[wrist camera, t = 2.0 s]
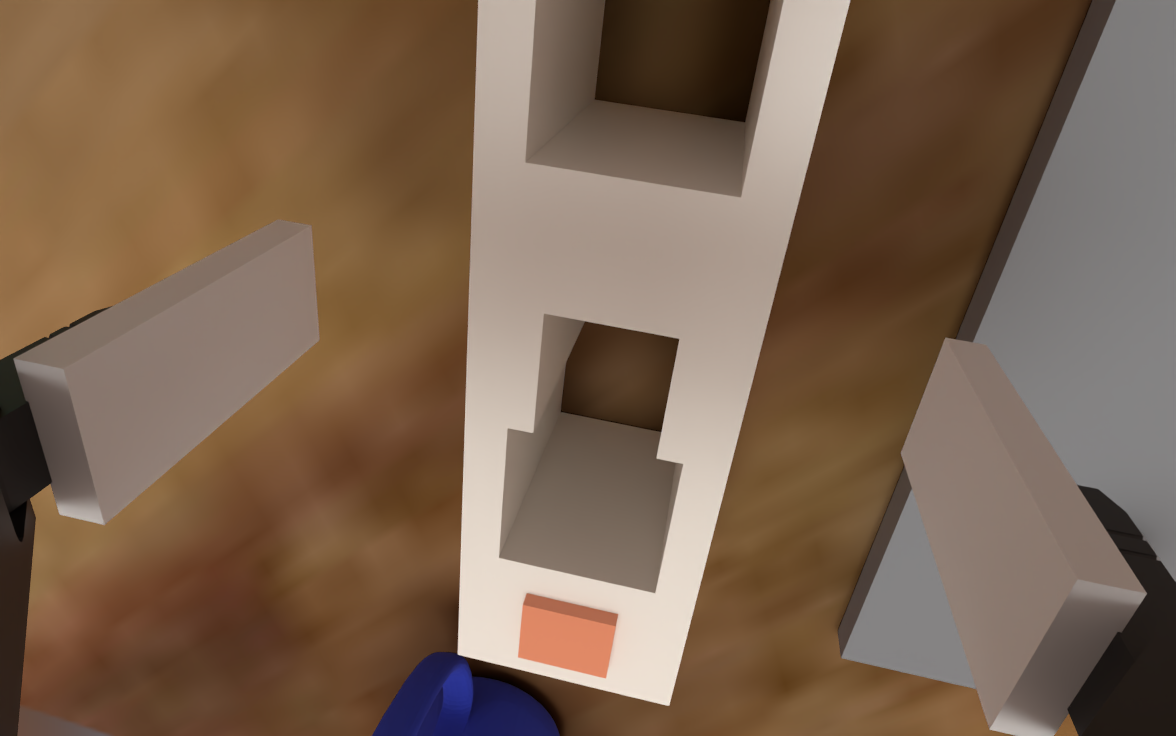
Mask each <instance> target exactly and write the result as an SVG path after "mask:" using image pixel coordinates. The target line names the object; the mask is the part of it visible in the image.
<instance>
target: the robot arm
mask: <svg viewBox="0 0 1176 736" xmlns="http://www.w3.org/2000/svg"><path fill="white" fill-rule="evenodd" d="M318 341H319V326H318V312H317V297H316V283H315V269H314V255H313V240H312V226H311V225H306V224H301V223H295V222H289V221H284V220H276V221H274V222H272V223H270V224H268V225H266V226H265V227H263V228H261V229H259V230H257V231H255V232H253V233H251V234H249V235H247V236H246V237H244V238H242V239H240V240H238V241H236V242H234V243H232V244H230V245H228V246H227V247H225V248H223V249H221V250H219V251H217V252H215V253H213V254H211V255H209V256H207V257H206V258H204V259H202V260H200V261H198V262H196V263H194V264H192V265H190V266H188V267H187V268H185V269H183V270H181V271H179V272H177V273H175V274H173V275H171V276H169V277H168V278H166V279H164V280H162V281H160V282H158V283H156V284H154V285H152V286H150V287H148V288H147V289H145V290H143V291H141V292H139V293H137V294H135V295H133V296H131V297H129V298H128V299H126V300H124V301H122V302H120V303H118V304H116V305H114V306H111V307H108V308H104V309H101V310H97V311H94V312H92V313H90V314H88V315H86V316H84V317H82V318H80V319H79V320H77V321H75V322H73V323H71V324H70V326H69V327H63V328H61V329H59V330H57V331H55V332H53V333H52V334H50V336H49V338H47V337H44V338H42V339H40V340H38V341H36V342H34V343H32V344H30V345H28V346H26V347H24V348H23V349H21V350H19V351H17V352H15V353H13V354H11V355H9V356H7V357H5V358H3V359H1V360H0V736H17V732H18V721H19V709H20V697H21V685H22V674H23V662H24V650H25V638H26V626H27V615H28V603H29V591H30V579H31V568H32V556H33V544H34V532H35V520H36V517H35V514H34V511H33V508H32V505H31V501H30V498H31V497H33V496H34V495H35V494H37V493H38V492H39V491H41V490H42V489H44V488H45V487H46V486H48V485H49V484H51V487H52V491H53V494H54V497H55V501H56V504H57V508H58V511H59V514H60V515H64V516H68V517H72V518H77V519H81V520H85V521H90V522H94V523H98V524H103V525H105V524H106V523H107V522H108V521H110V520H111V519H112V518H113V517H114V516H115V515H117V514H118V513H119V512H120V511H121V510H122V509H124V508H125V507H126V506H127V505H128V504H129V503H131V502H132V501H133V500H134V499H135V498H136V497H138V496H139V495H140V494H141V493H142V492H143V491H145V490H146V489H147V488H148V487H149V486H150V485H151V484H153V483H154V482H155V481H156V480H157V479H158V478H160V477H161V476H162V475H163V474H164V473H165V472H167V471H168V470H169V469H170V468H171V467H172V466H174V465H175V464H176V463H177V462H178V461H179V460H181V459H182V458H183V457H184V456H185V455H186V454H188V453H189V452H190V451H191V450H192V449H193V448H195V447H196V446H197V445H198V444H199V443H200V442H202V441H203V440H204V439H205V438H206V437H207V436H209V435H210V434H211V433H212V432H213V431H214V430H216V429H217V428H218V427H219V426H220V425H221V424H222V423H224V422H225V421H226V420H227V419H228V418H229V417H231V416H232V415H233V414H234V413H235V412H236V411H238V410H239V409H240V408H241V407H242V406H243V405H245V404H246V403H247V402H248V401H249V400H250V399H252V398H253V397H254V396H255V395H256V394H257V393H259V392H260V391H261V390H262V389H263V388H264V387H266V386H267V385H268V384H269V383H270V382H271V381H273V380H274V379H275V378H276V377H277V376H278V375H280V374H281V373H282V372H283V371H284V370H285V369H287V368H288V367H289V366H290V365H291V364H292V363H293V362H295V361H296V360H297V359H298V358H299V357H300V356H302V355H303V354H304V353H305V352H306V351H307V350H309V349H310V348H311V347H312V346H313V345H314V344H316V343H317V342H318ZM901 456H902V459H903V462H904V465H905V468H906V471H907V474H908V478H909V481H910V484H911V487H912V490H913V493H914V496H915V499H916V502H917V506H918V509H919V512H920V515H921V518H922V521H923V524H924V527H925V530H926V534H927V537H928V540H929V543H930V546H931V549H932V552H933V555H934V558H935V562H936V565H937V568H938V571H939V574H940V577H941V580H942V583H943V586H944V590H945V593H946V596H947V599H948V602H949V605H950V608H951V611H952V614H953V618H954V621H955V624H956V627H957V630H958V633H959V636H960V639H961V642H962V646H963V649H964V652H965V655H966V658H967V661H968V664H969V667H970V670H971V674H972V677H973V680H974V683H975V686H976V689H977V692H978V695H979V698H980V702H981V705H982V708H983V711H984V714H985V717H986V720H987V723H988V726H989V729H990V730H994V731H999V732H1003V733H1007V734H1011V735H1016V736H1054V735H1055V733H1056V732H1057V730H1058V729H1059V727H1060V726H1061V724H1062V723H1063V721H1064V719H1065V718H1066V716H1067V715H1068V713H1069V714H1070V717H1071V719H1072V721H1073V724H1074V726H1075V728H1076V731H1077V733H1078V735H1079V736H1176V582H1175V580H1174V579H1173V578H1172V576H1171V575H1170V573H1169V572H1168V570H1167V569H1166V568H1165V566H1164V565H1163V563H1162V562H1161V561H1158V560H1157V555H1156V553H1155V552H1154V551H1153V549H1152V548H1151V546H1150V545H1149V543H1148V542H1147V541H1145V540H1143V535H1142V534H1141V532H1140V531H1139V529H1138V528H1137V526H1136V525H1135V524H1134V522H1133V521H1132V519H1131V518H1130V517H1129V515H1128V514H1127V512H1126V511H1124V510H1123V509H1122V508H1121V507H1119V506H1118V505H1117V504H1116V503H1115V502H1113V501H1112V500H1111V499H1110V498H1109V497H1107V496H1106V495H1105V494H1104V493H1102V492H1101V491H1100V490H1099V489H1096V488H1091V487H1086V486H1080V485H1077V484H1076V483H1075V481H1074V480H1073V478H1072V477H1071V475H1070V474H1069V472H1068V471H1067V469H1066V467H1065V466H1064V464H1063V463H1062V461H1061V460H1060V458H1059V457H1058V455H1057V453H1056V452H1055V450H1054V449H1053V447H1052V446H1051V444H1050V443H1049V441H1048V440H1047V438H1046V436H1045V435H1044V433H1043V432H1042V430H1041V429H1040V427H1039V426H1038V424H1037V423H1036V421H1035V419H1034V418H1033V416H1032V415H1031V413H1030V412H1029V410H1028V409H1027V407H1026V405H1025V404H1024V402H1023V401H1022V399H1021V398H1020V396H1019V395H1018V393H1017V392H1016V390H1015V388H1014V387H1013V385H1012V384H1011V382H1010V381H1009V379H1008V378H1007V376H1006V375H1005V373H1004V371H1003V370H1002V368H1001V367H1000V365H999V364H998V362H997V361H996V359H995V357H994V356H993V354H992V353H991V351H990V350H989V348H988V347H987V345H984V344H979V343H973V342H967V341H962V340H956V339H950V338H945V340H944V343H943V345H942V348H941V350H940V353H939V356H938V358H937V361H936V363H935V366H934V369H933V371H932V374H931V376H930V379H929V381H928V384H927V387H926V389H925V392H924V394H923V397H922V400H921V402H920V405H919V407H918V410H917V412H916V415H915V418H914V420H913V423H912V425H911V428H910V431H909V433H908V436H907V438H906V441H905V444H904V446H903V449H902V451H901Z"/></svg>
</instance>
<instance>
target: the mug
mask: <svg viewBox="0 0 1176 736" xmlns="http://www.w3.org/2000/svg"><path fill="white" fill-rule="evenodd" d="M372 736H560V735H559V732H558V729H557V727H556V724H555V722H554V720H553V719H552V717H551V715H550V714H549V713H548V712H547V710H546V709H545V708H544V707H543V706H542V705H541V704H540V703H539V702H538V701H536V700H535V699H534V698H533V697H532V696H530V695H529V694H527V693H526V692H524V691H522V690H521V689H519V688H517V687H515V686H512V685H510V684H508V683H505V682H501V681H498V680H494V679H489V678H484V677H472V673H471V670H470V667H469V665H468V662H467V661H466V659H465V658H463V657H462V656H461V655H458V654H456V653H451V652H436V653H433V654H431V655H429V656H427V657H426V658H424V659H423V660H422V661H421V662H420V663H419V664H418V665H417V667H416V668H415V669H414V670H413V672H412V673H411V674H410V676H409V677H408V678H407V680H406V681H405V683H404V684H403V686H402V687H401V689H400V690H399V692H398V694H397V695H396V697H395V698H394V700H393V701H392V703H391V705H390V706H389V708H388V709H387V711H386V712H385V714H384V716H383V717H382V719H381V721H380V723H379V724H378V726H377V728H376V730H375V732H374V733H373V735H372Z"/></svg>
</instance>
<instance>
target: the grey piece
mask: <svg viewBox="0 0 1176 736" xmlns="http://www.w3.org/2000/svg"><path fill="white" fill-rule="evenodd" d="M956 340H962V341H967V342H973V343H979V344H984V345H987V347H988V348H989V350H990V351H991V353H992V354H993V356H994V357H995V359H996V361H997V362H998V364H999V365H1000V367H1001V368H1002V370H1003V371H1004V373H1005V375H1006V376H1007V378H1008V379H1009V381H1010V382H1011V384H1012V385H1013V387H1014V388H1015V390H1016V392H1017V393H1018V395H1019V396H1020V398H1021V399H1022V401H1023V402H1024V404H1025V405H1026V407H1027V409H1028V410H1029V412H1030V413H1031V415H1032V416H1033V418H1034V419H1035V421H1036V423H1037V424H1038V426H1039V427H1040V429H1041V430H1042V432H1043V433H1044V435H1045V436H1046V438H1047V440H1048V441H1049V443H1050V444H1051V446H1052V447H1053V449H1054V450H1055V452H1056V453H1057V455H1058V457H1059V458H1060V460H1061V461H1062V463H1063V464H1064V466H1065V467H1066V469H1067V471H1068V472H1069V474H1070V475H1071V477H1072V478H1073V480H1074V481H1075V483H1076V484H1077V485H1080V486H1086V487H1091V488H1096V489H1099V490H1100V491H1101V492H1102V493H1104V494H1105V495H1106V496H1107V497H1109V498H1110V499H1111V500H1112V501H1113V502H1115V503H1116V504H1117V505H1118V506H1119V507H1121V508H1122V509H1123V510H1124V511H1126V512H1127V514H1128V515H1129V517H1130V518H1131V519H1132V521H1133V522H1134V524H1135V525H1136V526H1137V528H1138V529H1139V531H1140V532H1141V534H1142V535H1143V540H1145V541H1147V542H1148V543H1149V545H1150V546H1151V548H1152V549H1153V551H1154V552H1155V553H1156V555H1157V560H1158V561H1161V562H1162V563H1163V565H1164V566H1165V568H1166V569H1167V570H1168V572H1169V573H1170V575H1171V576H1172V578H1173V579H1174V580H1175V582H1176V0H1092V3H1091V5H1090V8H1089V10H1088V13H1087V15H1086V18H1085V20H1084V23H1083V25H1082V28H1081V30H1080V33H1079V35H1078V38H1077V40H1076V42H1075V45H1074V47H1073V50H1072V52H1071V55H1070V57H1069V60H1068V62H1067V65H1066V67H1065V70H1064V72H1063V75H1062V77H1061V80H1060V82H1059V85H1058V87H1057V90H1056V92H1055V94H1054V97H1053V99H1052V102H1051V104H1050V107H1049V109H1048V112H1047V114H1046V117H1045V119H1044V122H1043V124H1042V127H1041V129H1040V132H1039V134H1038V137H1037V139H1036V142H1035V144H1034V146H1033V149H1032V151H1031V154H1030V156H1029V159H1028V161H1027V164H1026V166H1025V169H1024V171H1023V174H1022V176H1021V179H1020V181H1019V184H1018V186H1017V189H1016V191H1015V194H1014V196H1013V198H1012V201H1011V203H1010V206H1009V208H1008V211H1007V213H1006V216H1005V218H1004V221H1003V223H1002V226H1001V228H1000V231H999V233H998V236H997V238H996V241H995V243H994V246H993V248H992V250H991V253H990V255H989V258H988V260H987V263H986V265H985V268H984V270H983V273H982V275H981V278H980V280H979V283H978V285H977V288H976V290H975V293H974V295H973V298H972V300H971V303H970V305H969V307H968V310H967V312H966V315H965V317H964V320H963V322H962V325H961V327H960V330H959V332H958V335H957V337H956ZM838 637H839V645H840V653H841V658H843V659H848V660H852V661H857V662H861V663H865V664H870V665H874V666H878V667H883V668H887V669H891V670H896V671H900V672H904V673H909V674H913V675H918V676H922V677H926V678H931V679H935V680H939V681H944V682H948V683H952V684H957V685H961V686H965V687H970V688H974V689H976V686H975V683H974V680H973V677H972V674H971V670H970V667H969V664H968V661H967V658H966V655H965V652H964V649H963V646H962V642H961V639H960V636H959V633H958V630H957V627H956V624H955V621H954V618H953V614H952V611H951V608H950V605H949V602H948V599H947V596H946V593H945V590H944V586H943V583H942V580H941V577H940V574H939V571H938V568H937V565H936V562H935V558H934V555H933V552H932V549H931V546H930V543H929V540H928V537H927V534H926V530H925V527H924V524H923V521H922V518H921V515H920V512H919V509H918V506H917V502H916V499H915V496H914V493H913V490H912V487H911V484H910V481H909V478H908V474H907V471H906V468H905V466H904V468H903V471H902V473H901V476H900V478H899V481H898V483H897V486H896V488H895V491H894V493H893V496H892V498H891V501H890V503H889V506H888V508H887V511H886V513H885V515H884V518H883V520H882V523H881V525H880V528H879V530H878V533H877V535H876V538H875V540H874V543H873V545H872V548H871V550H870V553H869V555H868V558H867V560H866V563H865V565H864V567H863V570H862V572H861V575H860V577H859V580H858V582H857V585H856V587H855V590H854V592H853V595H852V597H851V600H850V602H849V605H848V607H847V610H846V612H845V615H844V617H843V619H842V622H841V624H840V627H839V629H838Z"/></svg>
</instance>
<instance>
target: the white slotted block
mask: <svg viewBox="0 0 1176 736" xmlns="http://www.w3.org/2000/svg"><path fill="white" fill-rule="evenodd" d="M849 4H850V0H771V1H770V5H769V10H768V15H767V20H766V25H765V29H764V34H763V39H762V44H761V49H760V53H759V58H758V63H757V68H756V73H755V77H754V82H753V87H752V92H751V97H750V101H749V106H748V111H747V116H746V121H745V122H739V121H733V120H726V119H720V118H713V117H706V116H700V115H693V114H687V113H680V112H673V111H667V110H660V109H654V108H647V107H640V106H634V105H627V104H621V103H614V102H607V101H601V100H595V92H596V82H597V73H598V64H599V55H600V46H601V36H602V27H603V18H604V9H605V0H478V25H477V57H476V88H475V120H474V152H473V184H472V215H471V247H470V279H469V310H468V342H467V374H466V406H465V437H464V469H463V501H462V532H461V564H460V596H459V628H458V655H461V656H465V657H469V658H474V659H478V660H482V661H486V662H490V663H494V664H498V665H502V666H507V667H511V668H515V669H519V670H523V671H527V672H531V673H535V674H539V675H544V676H548V677H552V678H556V679H560V680H564V681H568V682H572V683H577V684H581V685H585V686H589V687H593V688H597V689H601V690H605V691H609V692H614V693H618V694H622V695H626V696H630V697H634V698H638V699H642V700H647V701H651V702H655V703H659V704H663V705H667V706H669V704H670V700H671V696H672V692H673V688H674V685H675V681H676V677H677V673H678V669H679V665H680V661H681V657H682V653H683V650H684V646H685V642H686V638H687V634H688V630H689V626H690V622H691V618H692V615H693V611H694V607H695V603H696V599H697V595H698V591H699V587H700V583H701V580H702V576H703V572H704V568H705V564H706V560H707V556H708V552H709V548H710V545H711V541H712V537H713V533H714V529H715V525H716V521H717V517H718V513H719V510H720V506H721V502H722V498H723V494H724V490H725V486H726V482H727V478H728V474H729V471H730V467H731V463H732V459H733V455H734V451H735V447H736V443H737V439H738V436H739V432H740V428H741V424H742V420H743V416H744V412H745V408H746V404H747V401H748V397H749V393H750V389H751V385H752V381H753V377H754V373H755V369H756V366H757V362H758V358H759V354H760V350H761V346H762V342H763V338H764V334H765V331H766V327H767V323H768V319H769V315H770V311H771V307H772V303H773V299H774V296H775V292H776V288H777V284H778V280H779V276H780V272H781V268H782V264H783V261H784V257H785V253H786V249H787V245H788V241H789V237H790V233H791V229H792V226H793V222H794V218H795V214H796V210H797V206H798V202H799V198H800V194H801V191H802V187H803V183H804V179H805V175H806V171H807V167H808V163H809V159H810V155H811V152H812V148H813V144H814V140H815V136H816V132H817V128H818V124H819V120H820V117H821V113H822V109H823V105H824V101H825V97H826V93H827V89H828V85H829V82H830V78H831V74H832V70H833V66H834V62H835V58H836V54H837V50H838V47H839V43H840V39H841V35H842V31H843V27H844V23H845V19H846V15H847V12H848V8H849ZM585 321H587V322H592V323H597V324H603V325H608V326H613V327H619V328H624V329H629V330H635V331H640V332H646V333H651V334H656V335H662V336H667V337H672V338H678V339H679V344H678V349H677V354H676V359H675V364H674V370H673V375H672V380H671V385H670V390H669V395H668V401H667V406H666V411H665V416H664V421H663V427H662V432H658V431H653V430H648V429H643V428H638V427H633V426H628V425H623V424H618V423H613V422H608V421H603V420H598V419H593V418H588V417H584V416H579V415H574V414H569V413H564V412H561V405H562V396H563V386H564V377H565V368H566V361H567V359H568V357H569V355H570V353H571V351H572V348H573V346H574V344H575V342H576V340H577V338H578V335H579V333H580V331H581V329H582V327H583V325H584V322H585Z"/></svg>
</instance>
